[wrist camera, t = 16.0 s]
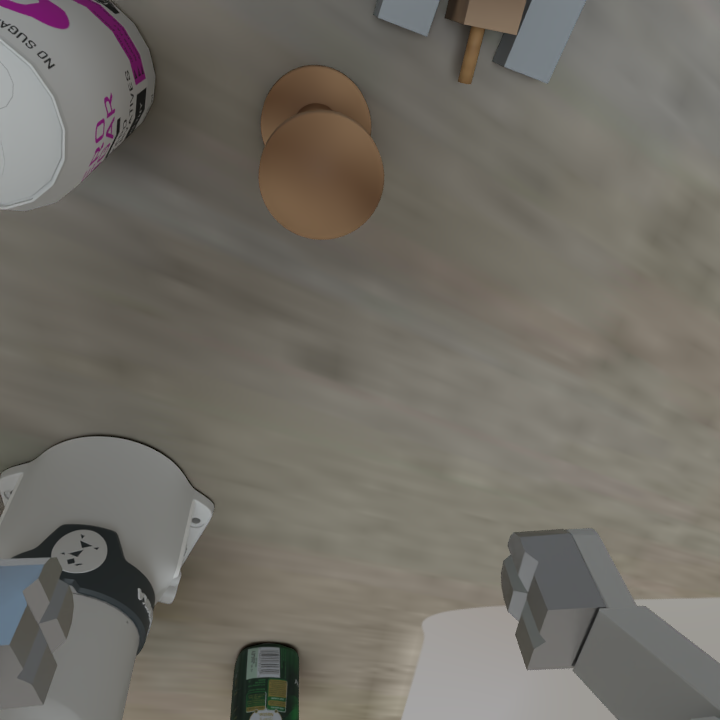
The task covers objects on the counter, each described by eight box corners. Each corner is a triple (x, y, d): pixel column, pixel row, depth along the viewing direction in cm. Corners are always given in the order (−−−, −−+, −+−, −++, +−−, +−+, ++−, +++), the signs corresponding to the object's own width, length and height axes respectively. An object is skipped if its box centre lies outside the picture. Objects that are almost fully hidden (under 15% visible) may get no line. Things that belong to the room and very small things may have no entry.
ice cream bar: (477, 80, 37) (499, 94, 33) (432, 72, 37) (449, 85, 33) (517, -73, 33) (548, -79, 29) (467, -85, 32) (491, -93, 28)
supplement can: (-3, -23, 32) (-194, -18, 20) (152, -4, 33) (64, 13, 21) (27, 131, 36) (-113, 214, 24) (163, 143, 38) (95, 229, 25)
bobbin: (350, 191, 40) (366, 264, 30) (250, 160, 39) (234, 227, 29) (384, 87, 37) (415, 130, 27) (276, 48, 35) (267, 79, 25)
